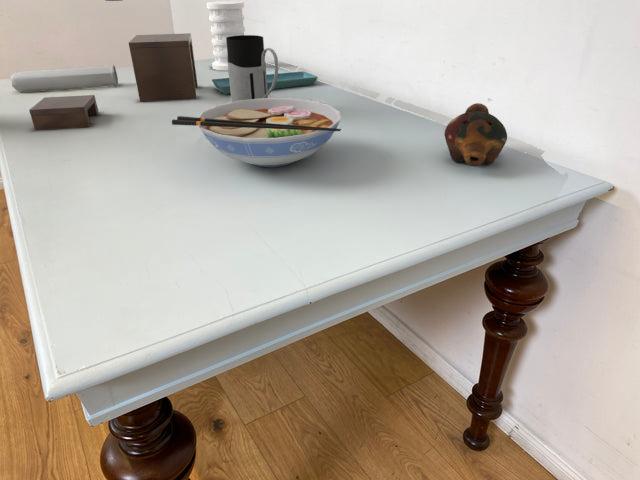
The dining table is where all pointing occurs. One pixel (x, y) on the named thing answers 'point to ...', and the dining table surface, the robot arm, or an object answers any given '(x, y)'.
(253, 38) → the glass holder
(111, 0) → the can
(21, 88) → the tube
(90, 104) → the low shelf
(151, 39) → the brown block
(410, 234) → the dining table surface
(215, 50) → the decorative container
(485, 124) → the decorative turtle
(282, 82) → the teal serving tray
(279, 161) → the ramen bowl
